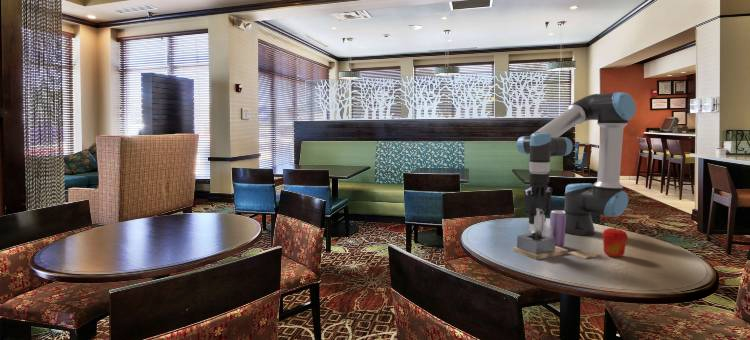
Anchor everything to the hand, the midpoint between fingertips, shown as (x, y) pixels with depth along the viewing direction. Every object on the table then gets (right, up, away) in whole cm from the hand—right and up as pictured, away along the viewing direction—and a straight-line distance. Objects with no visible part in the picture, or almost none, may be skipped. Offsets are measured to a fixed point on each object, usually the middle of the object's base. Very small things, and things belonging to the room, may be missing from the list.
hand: (536, 230), depth 164 cm
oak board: (+2, -9, +2) cm, 9 cm away
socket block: (0, -7, +1) cm, 8 cm away
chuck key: (0, -4, 0) cm, 4 cm away
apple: (+29, -10, -2) cm, 31 cm away
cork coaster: (+18, -9, -2) cm, 20 cm away
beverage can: (+12, -8, +10) cm, 17 cm away
